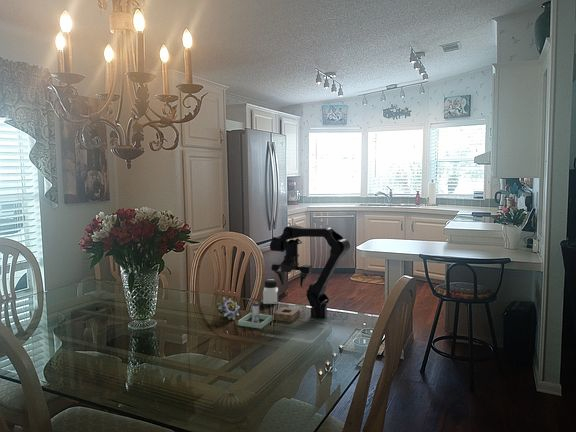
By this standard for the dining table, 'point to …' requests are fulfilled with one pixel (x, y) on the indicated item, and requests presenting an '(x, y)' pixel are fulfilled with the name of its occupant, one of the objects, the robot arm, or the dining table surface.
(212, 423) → the dining table surface
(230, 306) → the passion flower
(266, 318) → the mint green square frame
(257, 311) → the metal pin
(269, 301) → the medicine bottle
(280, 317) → the holder block
